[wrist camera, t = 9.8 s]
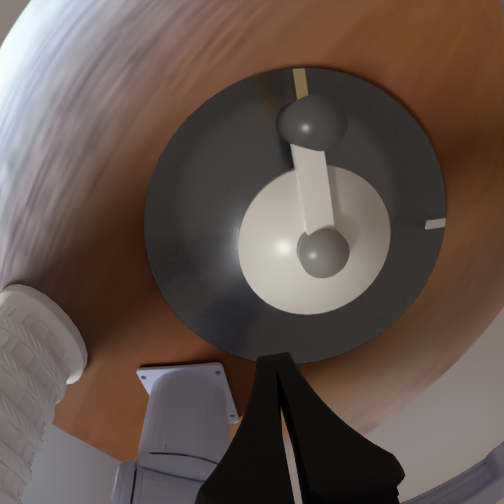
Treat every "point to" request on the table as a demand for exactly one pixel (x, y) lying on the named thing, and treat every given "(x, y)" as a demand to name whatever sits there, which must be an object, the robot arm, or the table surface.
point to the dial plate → (253, 179)
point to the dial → (313, 220)
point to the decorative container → (31, 378)
